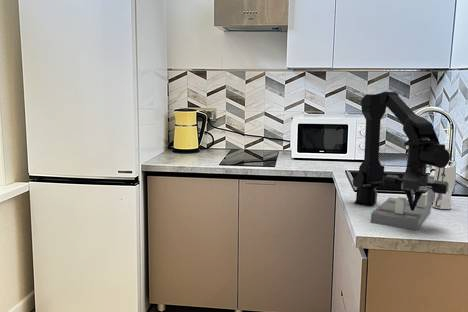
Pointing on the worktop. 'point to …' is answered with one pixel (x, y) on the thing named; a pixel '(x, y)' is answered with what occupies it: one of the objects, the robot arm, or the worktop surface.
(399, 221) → the switch panel
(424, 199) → the off-white block
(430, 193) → the light bulb box
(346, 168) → the worktop surface
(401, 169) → the worktop surface
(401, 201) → the off-white switch lever
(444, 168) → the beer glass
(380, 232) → the worktop surface
